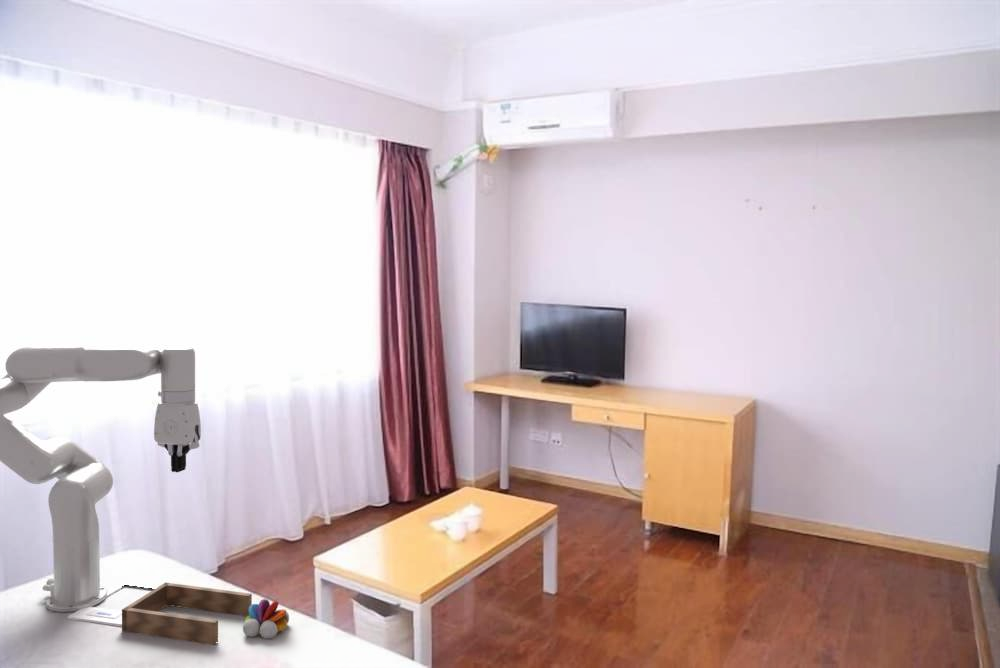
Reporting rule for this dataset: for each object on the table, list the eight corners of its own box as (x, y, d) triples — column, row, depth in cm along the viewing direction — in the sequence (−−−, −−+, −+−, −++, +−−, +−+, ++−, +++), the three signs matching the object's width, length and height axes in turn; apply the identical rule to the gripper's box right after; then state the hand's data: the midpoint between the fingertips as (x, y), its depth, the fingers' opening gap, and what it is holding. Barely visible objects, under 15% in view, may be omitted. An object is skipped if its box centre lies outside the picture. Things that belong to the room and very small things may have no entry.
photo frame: (67, 615, 156) (124, 582, 174) (67, 620, 157) (124, 587, 174) (122, 623, 154) (175, 589, 171) (122, 628, 154) (175, 593, 171)
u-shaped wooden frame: (121, 631, 152) (121, 609, 151) (165, 602, 166) (165, 582, 165) (214, 645, 147) (214, 622, 147) (251, 614, 161) (251, 593, 161)
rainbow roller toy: (277, 643, 149) (277, 611, 148) (236, 638, 150) (236, 606, 150) (294, 624, 157) (294, 594, 157) (255, 620, 159) (256, 590, 158)
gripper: (140, 397, 163) (141, 472, 164) (195, 401, 160) (195, 477, 161) (161, 392, 170) (162, 464, 172) (215, 396, 167) (215, 469, 169)
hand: (178, 470), depth 166 cm, fingers closed
